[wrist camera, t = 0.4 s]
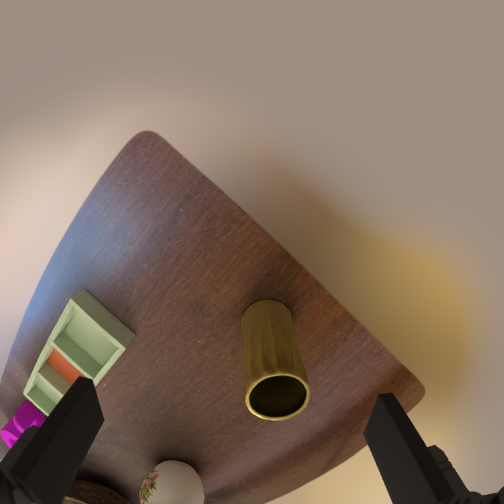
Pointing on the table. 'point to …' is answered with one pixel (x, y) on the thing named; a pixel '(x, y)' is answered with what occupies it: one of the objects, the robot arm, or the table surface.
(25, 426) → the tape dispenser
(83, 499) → the bowl
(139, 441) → the table surface
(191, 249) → the table surface
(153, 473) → the pitcher
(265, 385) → the vase
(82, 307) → the tray
